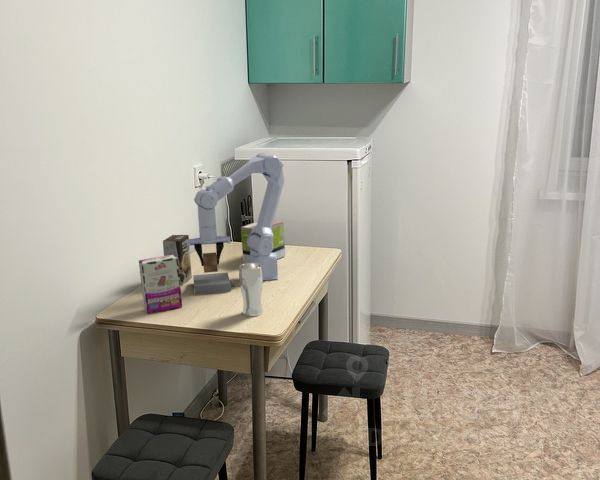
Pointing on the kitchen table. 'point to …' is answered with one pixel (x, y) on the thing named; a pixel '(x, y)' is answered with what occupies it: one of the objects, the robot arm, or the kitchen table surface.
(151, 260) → the candy bar box
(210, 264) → the walnut block
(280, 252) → the tea box
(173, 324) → the kitchen table surface
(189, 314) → the kitchen table surface
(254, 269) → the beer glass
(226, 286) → the slate base
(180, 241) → the coffee box
